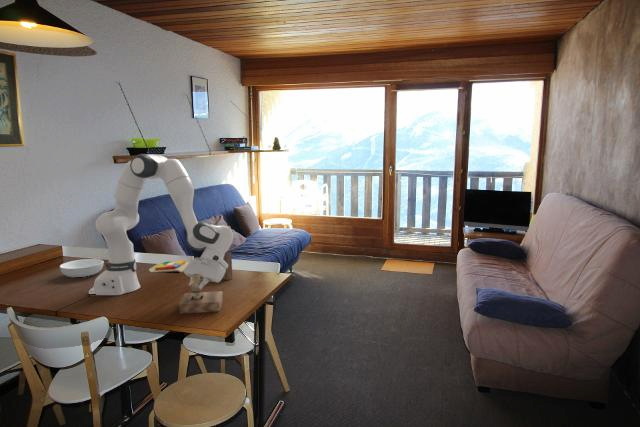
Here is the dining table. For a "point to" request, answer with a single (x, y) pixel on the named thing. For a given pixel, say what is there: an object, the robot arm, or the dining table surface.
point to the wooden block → (228, 260)
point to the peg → (195, 286)
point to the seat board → (201, 302)
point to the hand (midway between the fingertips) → (194, 287)
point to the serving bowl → (82, 267)
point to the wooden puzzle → (169, 266)
